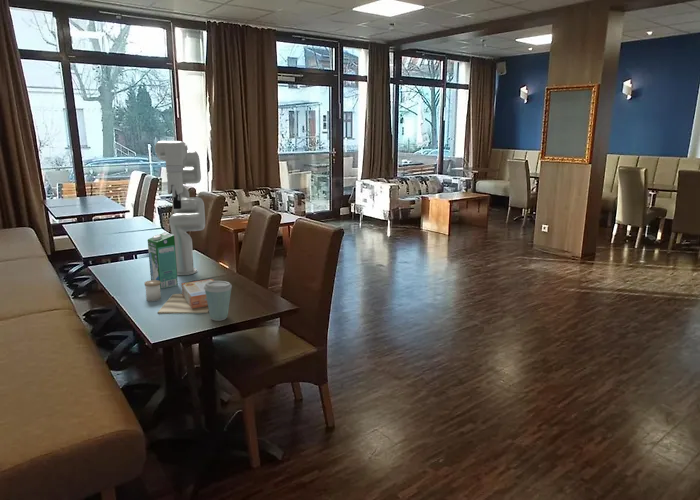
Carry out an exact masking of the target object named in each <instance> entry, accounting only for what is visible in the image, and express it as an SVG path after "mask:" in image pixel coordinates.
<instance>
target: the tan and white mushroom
mask: <svg viewBox="0 0 700 500" xmlns="http://www.w3.org/2000/svg"><path fill="white" fill-rule="evenodd" d="M160 284H161V282H160V281H159V280H151V279H149V280H147V281H145V282H144V286H145V297H146V301H147V302H157V301H160V300H162V293H161V289H160Z"/></svg>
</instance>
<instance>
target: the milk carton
mask: <svg viewBox="0 0 700 500" xmlns="http://www.w3.org/2000/svg"><path fill="white" fill-rule="evenodd" d="M147 249H148V259H149V260H148V261H149V272H150V275H149V276H150V280H159V281H160V282H161V284H160V290H163V289H168V288H171V287H175V286H178V283H179V282H178V275H177V266H176V252H175V238H174V235H172V233H169V232H162V233H160V234H156V235H153V236H152V237H150V238H148V239H147Z"/></svg>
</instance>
